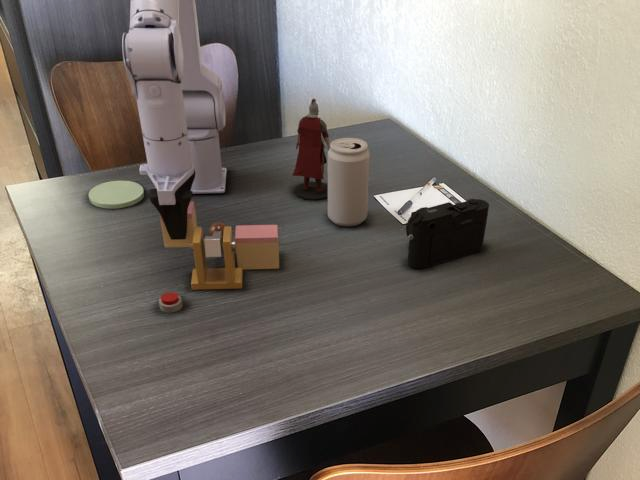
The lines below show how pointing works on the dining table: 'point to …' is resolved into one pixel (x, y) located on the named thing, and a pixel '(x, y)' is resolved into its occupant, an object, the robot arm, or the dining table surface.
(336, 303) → the dining table surface
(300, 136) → the figurine
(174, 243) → the cake slice
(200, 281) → the stand
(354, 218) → the beverage can
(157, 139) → the robot arm
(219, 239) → the cutter
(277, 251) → the cake
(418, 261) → the camera
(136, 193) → the plate
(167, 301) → the push button
